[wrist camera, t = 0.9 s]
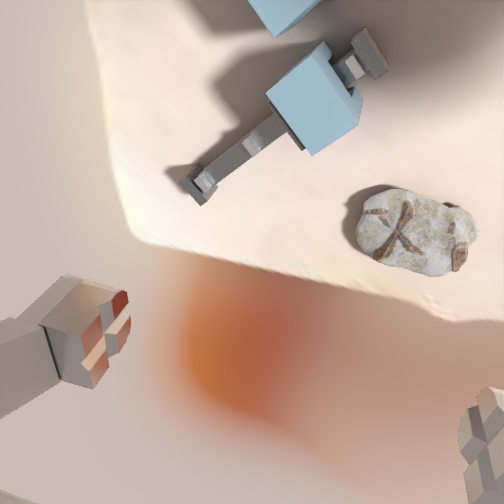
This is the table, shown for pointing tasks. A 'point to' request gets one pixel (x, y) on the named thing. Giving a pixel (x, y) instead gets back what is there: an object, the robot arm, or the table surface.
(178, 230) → the table surface
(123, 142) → the table surface
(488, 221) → the table surface
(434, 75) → the table surface
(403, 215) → the stone
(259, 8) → the light blue block
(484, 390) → the robot arm
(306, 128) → the light blue rectangular block
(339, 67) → the rail
